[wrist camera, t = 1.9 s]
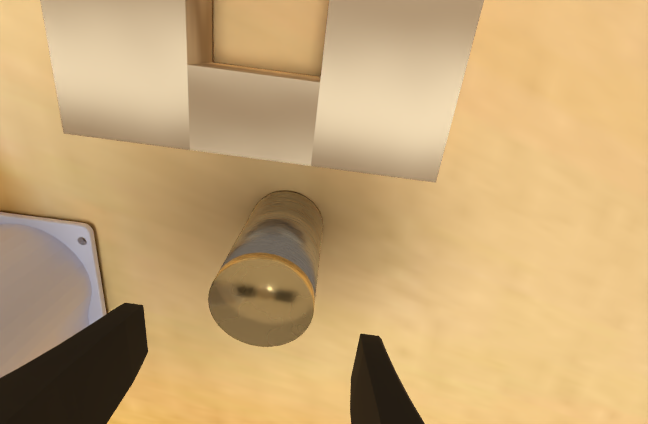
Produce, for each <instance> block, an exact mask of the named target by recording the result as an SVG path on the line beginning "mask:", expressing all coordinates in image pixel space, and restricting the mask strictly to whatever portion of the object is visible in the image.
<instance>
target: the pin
mask: <svg viewBox="0 0 648 424" xmlns="http://www.w3.org/2000/svg"><path fill="white" fill-rule="evenodd" d="M322 231H323V221H322V217H321V214H320V212H319V210H318V208H317V207H316V206H315V205H314V203H313V202H312V201H310V200H309V199H308V198H306V197H305V196H303V195H300V194H298V193H295V192H289V191H280V192H275V193H272V194H269V195H267V196H266V197H264V198H263V199H261V200H260V201H259V202H258V204H257V205H256V206H255V208H254V210H253V212H252V213H251V215H250V217H249V219H248V220H247V222H246V224H245V226H244V228H243V229H242V231H241V233H240V235H239V237H238V238H237V240H236V242H235V244H234V246H233V247H232V249H231V251H230V253H229V254H228V256H227V258H226V260H225V262H224V263H223V265H222V267H221V269H220V271H219V272H218V274H217V276H216V278H215V280H214V281H213V283H212V285H211V288H210V291H209V298H208V301H209V308H210V311H211V314H212V316H213V318H214V320H215V321H216V323H217V324H218V325H219V326H220V327H221V328H222V329H223V330H224V331H225V332H226V333H227V334H228V335H230V336H232V337H233V338H235V339H237V340H239V341H241V342H244V343H247V344H250V345H255V346H262V347H272V346H279V345H283V344H286V343H289V342H291V341H293V340H295V339H296V338H298V337H299V336H300V335H302V334H303V333H304V332H305V330H306V329H307V328H308V326H309V325H310V323H311V320H312V317H313V311H314V302H315V293H316V284H317V276H318V267H319V258H320V249H321V240H322Z"/></svg>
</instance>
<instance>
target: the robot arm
mask: <svg viewBox="0 0 648 424" xmlns="http://www.w3.org/2000/svg"><path fill="white" fill-rule="evenodd" d="M82 237H83V238H85V239H86V241H87V242H86V241H84V240H83V238H82ZM147 353H148V347H147V338H146V328H145V319H144V309H143V305H138V304H130V303H124V304H122V305H120V306H119V307H117V308H115V309H114V310H112V311H111V312H109V313H108V314H106V307H105V301H104V295H103V288H102V282H101V276H100V270H99V263H98V257H97V251H96V244H95V238H94V232H93V229H92V228H91V226H89V225H88V224H86V223H81V222H73V221H65V220H58V219H50V218H42V217H35V216H27V215H19V214H12V213H4V212H0V424H107V422H108V421H109V419H110V417H111V416H112V414H113V413H114V411H115V410H116V408H117V407H118V405H119V404H120V402H121V401H122V399H123V397H124V396H125V394H126V393H127V391H128V390H129V388H130V386H131V385H132V383H133V382H134V380H135V378H136V376H137V374H138V372H139V370H140V368H141V366H142V364H143V361H144V359H145V357H146V355H147ZM350 413H351V424H425V423H424V422H423V420H422V418H421V417H420V415H419V413H418V412H417V410H416V408H415V407H414V405H413V403H412V401H411V400H410V398H409V396H408V394H407V392H406V390H405V389H404V387H403V385H402V383H401V381H400V379H399V377H398V375H397V373H396V371H395V369H394V367H393V365H392V363H391V361H390V358H389V356H388V354H387V352H386V349H385V347H384V344H383V342H382V339H381V338H380V337H379V336H375V335H367V334H360V338H359V343H358V348H357V352H356V357H355V362H354V367H353V371H352V376H351V397H350Z"/></svg>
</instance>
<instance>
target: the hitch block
mask: <svg viewBox="0 0 648 424" xmlns="http://www.w3.org/2000/svg"><path fill="white" fill-rule="evenodd" d="M40 1H41V7H42V12H43V18H44V24H45V29H46V35H47V41H48V47H49V52H50V58H51V64H52V69H53V75H54V81H55V87H56V92H57V98H58V104H59V109H60V115H61V121H62V127H63V132H64V134H72V135H80V136H87V137H95V138H102V139H110V140H117V141H125V142H133V143H140V144H148V145H155V146H163V147H171V148H178V149H186V150H193V151H201V152H208V153H216V154H224V155H231V156H239V157H246V158H254V159H262V160H269V161H277V162H284V163H292V164H300V165H307V166H315V167H322V168H330V169H337V170H345V171H353V172H360V173H368V174H375V175H383V176H391V177H398V178H406V179H413V180H421V181H428V182H436V180H437V176H438V172H439V168H440V165H441V161H442V157H443V153H444V149H445V146H446V142H447V138H448V134H449V131H450V127H451V123H452V119H453V115H454V112H455V108H456V104H457V100H458V97H459V93H460V89H461V85H462V81H463V78H464V74H465V70H466V66H467V63H468V59H469V55H470V51H471V47H472V44H473V40H474V36H475V32H476V29H477V25H478V21H479V17H480V13H481V10H482V6H483V2H484V0H329V7H328V16H327V25H326V34H325V43H324V52H323V61H322V70H321V77H319V76H311V75H304V74H296V73H289V72H281V71H274V70H266V69H259V68H251V67H244V66H236V65H229V64H222V63H214V62H213V55H212V0H40Z"/></svg>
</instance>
